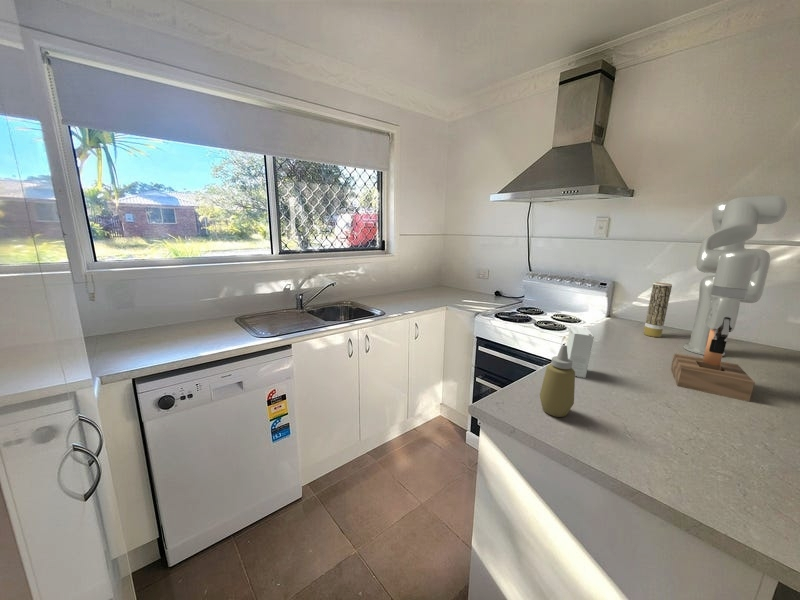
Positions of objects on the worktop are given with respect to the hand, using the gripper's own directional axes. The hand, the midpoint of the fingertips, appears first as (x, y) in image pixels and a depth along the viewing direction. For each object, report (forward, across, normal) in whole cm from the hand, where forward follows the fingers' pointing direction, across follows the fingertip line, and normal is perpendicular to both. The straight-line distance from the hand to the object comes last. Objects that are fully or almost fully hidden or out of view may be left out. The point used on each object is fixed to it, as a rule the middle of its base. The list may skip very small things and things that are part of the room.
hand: (714, 350), depth 102 cm
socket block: (+11, 0, 0) cm, 11 cm away
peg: (+4, 0, 0) cm, 4 cm away
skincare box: (+12, +17, -36) cm, 41 cm away
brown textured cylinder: (+11, -55, -10) cm, 57 cm away
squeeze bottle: (+12, +48, -38) cm, 62 cm away
